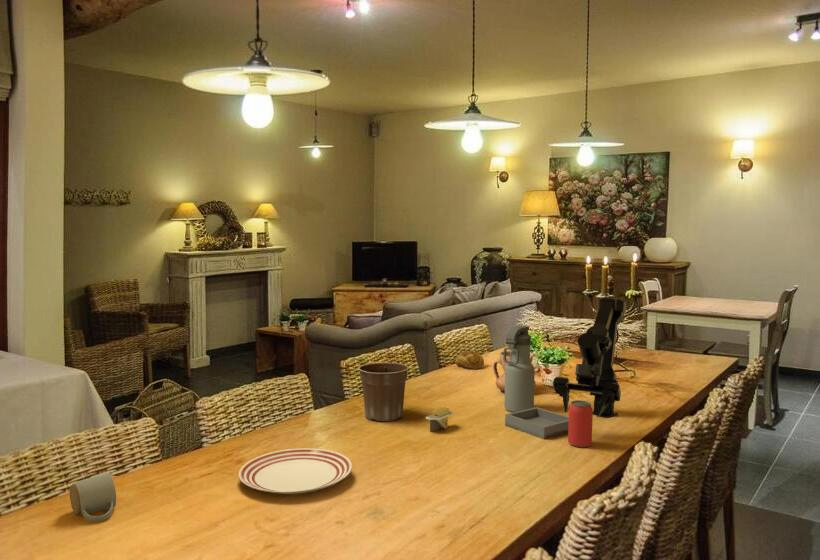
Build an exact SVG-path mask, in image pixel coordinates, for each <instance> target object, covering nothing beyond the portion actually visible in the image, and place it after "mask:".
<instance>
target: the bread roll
mask: <svg viewBox="0 0 820 560" xmlns="http://www.w3.org/2000/svg"><path fill="white" fill-rule="evenodd" d="M455 364H456V365H457V366H458V367H460V368H465V369H466V368H467V369H466V370H480V369H481V368H482V367H484V364H485V361H484V357H483V356H482V355H481V354H480V353H478V352H476V351H468V350H464V351H461V352H460V353H459V354H458V355H457V357H455Z"/></svg>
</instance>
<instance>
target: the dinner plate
mask: <svg viewBox="0 0 820 560" xmlns="http://www.w3.org/2000/svg"><path fill="white" fill-rule="evenodd" d="M351 461H352V460H350V458H348V457H347V456H346V455H344V454H343V453H339V452H336V451H332V450H328V449H323V448H307V447H306V448H305V447H304V448H302V447H301V448H289V449H282V450H276V451H271V452H268V453H265V454H262V455H258V456H256V457H255V458H252V459H251V460H248V461H247V462H246V463H245V464H243V465H242V466H241V467H240V469H239V471H238V479H239V480H240V482H241V483H242V484H243V485H245V486H247V487H249V488H251V489H253V490H257V491H261V492H266V493H272V494H281V495H283V494H284V495H297V494H298V495H299V494H304V493H311V492H315V491H320V490H323V489H326V488H329V487H331V486H334V485H335V484H338V483H339V482H341V481H343V480H344V479H345V478H347V477H348V476H349V475H350V473H351V472H352V469H353V464H352V462H351Z"/></svg>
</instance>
